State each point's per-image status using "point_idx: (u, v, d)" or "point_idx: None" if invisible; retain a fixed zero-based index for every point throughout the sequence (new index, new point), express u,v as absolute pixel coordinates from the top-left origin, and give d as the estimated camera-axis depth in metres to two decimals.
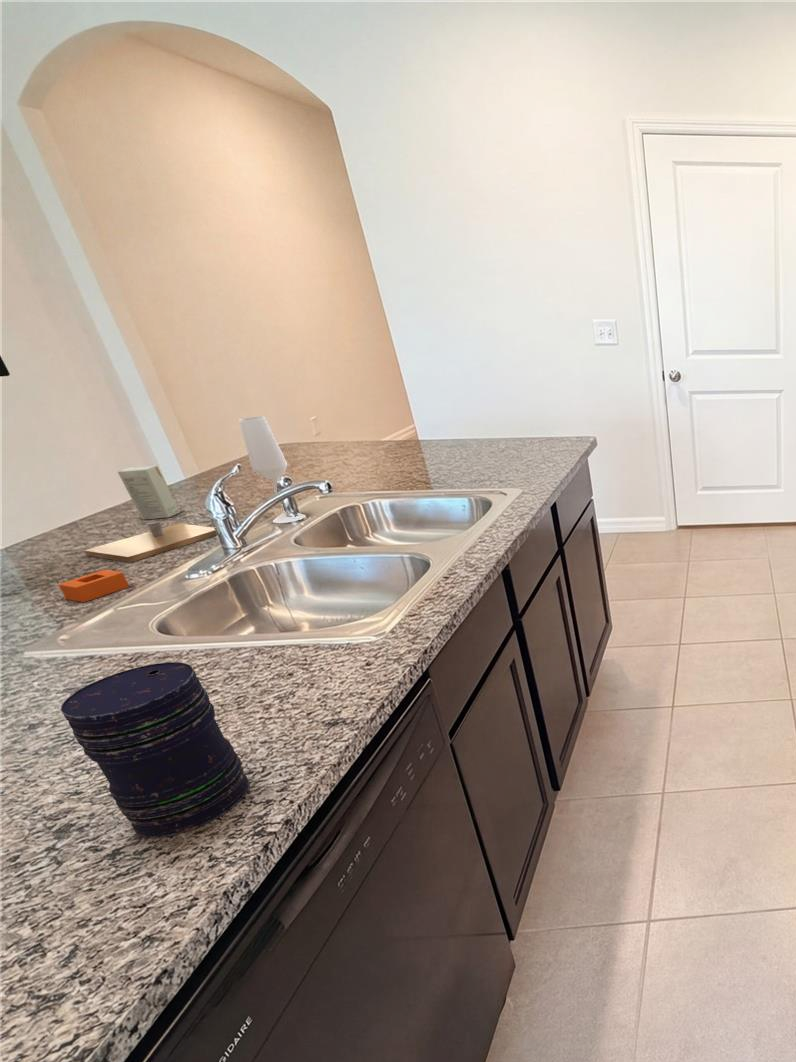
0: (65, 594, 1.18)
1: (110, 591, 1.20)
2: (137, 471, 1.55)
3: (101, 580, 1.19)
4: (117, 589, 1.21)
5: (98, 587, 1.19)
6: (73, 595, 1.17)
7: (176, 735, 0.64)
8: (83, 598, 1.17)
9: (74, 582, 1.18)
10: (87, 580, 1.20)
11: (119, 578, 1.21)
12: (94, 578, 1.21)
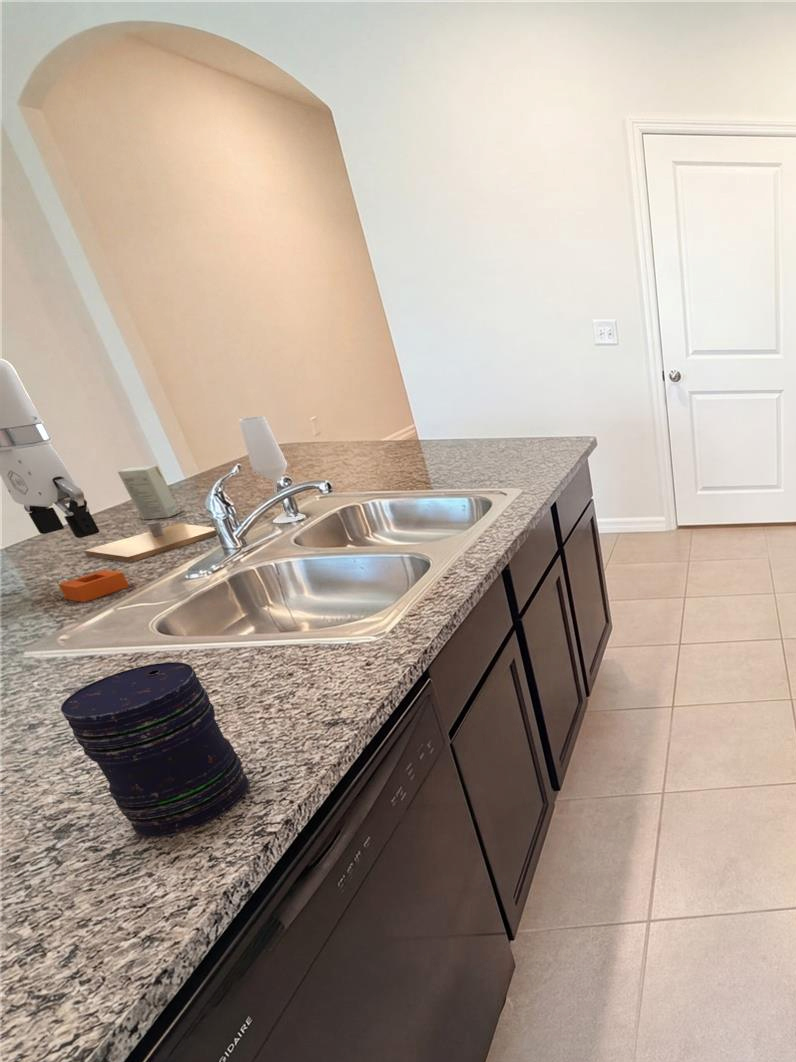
0: (65, 594, 1.18)
1: (110, 591, 1.20)
2: (137, 471, 1.55)
3: (101, 580, 1.19)
4: (117, 589, 1.21)
5: (98, 587, 1.19)
6: (73, 595, 1.17)
7: (176, 735, 0.64)
8: (83, 598, 1.17)
9: (74, 582, 1.18)
10: (87, 580, 1.20)
11: (119, 578, 1.21)
12: (94, 578, 1.21)
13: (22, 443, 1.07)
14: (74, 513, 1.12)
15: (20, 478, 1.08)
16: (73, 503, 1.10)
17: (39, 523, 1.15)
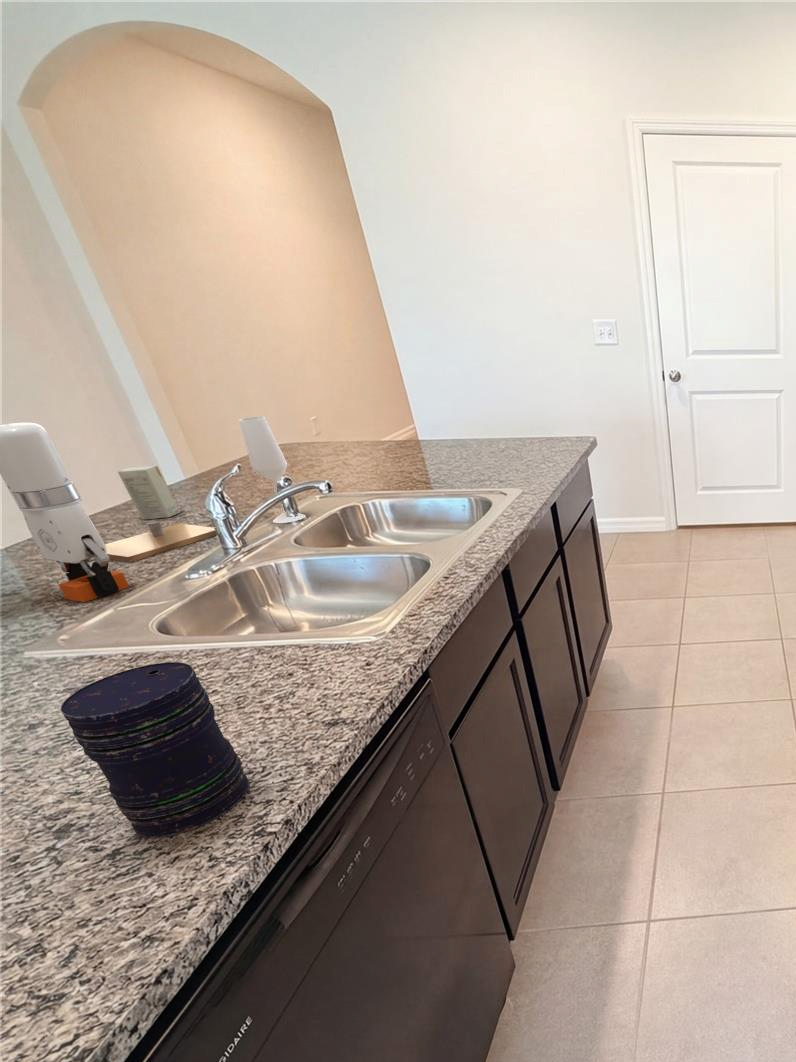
0: (65, 594, 1.18)
1: None
2: (137, 471, 1.55)
3: None
4: None
5: None
6: (73, 595, 1.17)
7: (176, 735, 0.64)
8: (83, 598, 1.17)
9: (74, 582, 1.18)
10: (87, 580, 1.20)
11: (119, 578, 1.21)
12: None
13: (53, 504, 1.11)
14: (96, 574, 1.17)
15: (50, 536, 1.13)
16: (96, 565, 1.16)
17: None
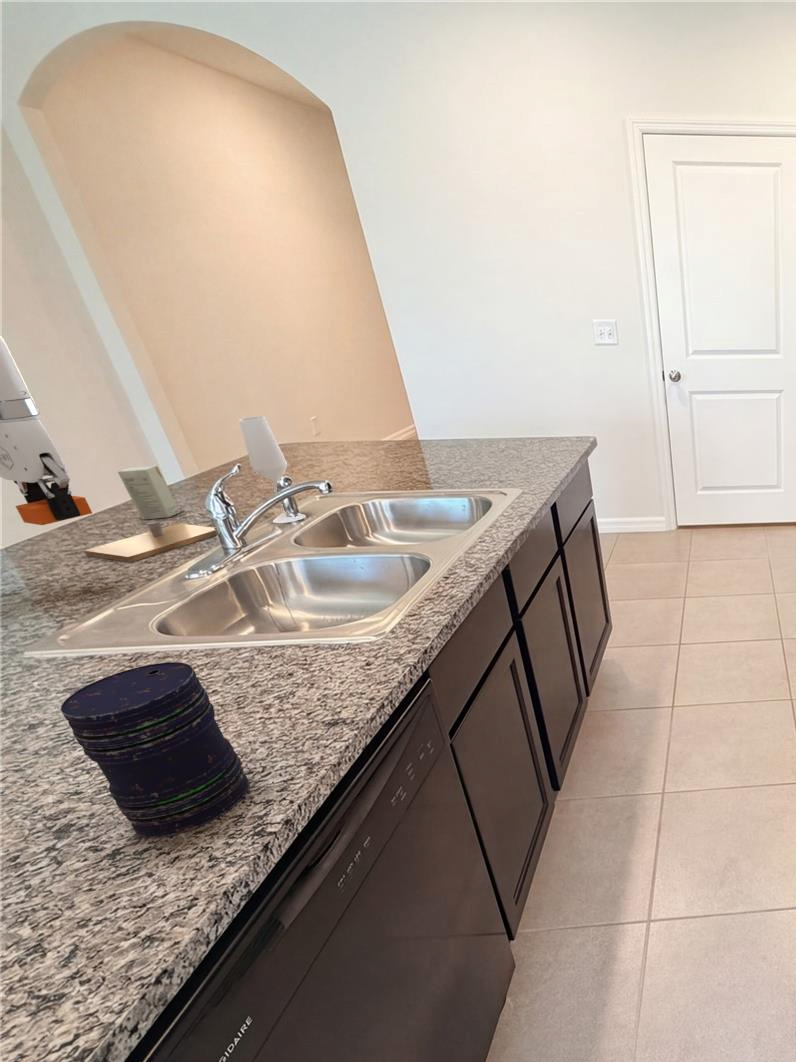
0: (23, 517, 1.12)
1: None
2: (137, 471, 1.55)
3: None
4: None
5: None
6: (31, 517, 1.11)
7: (176, 735, 0.64)
8: (41, 521, 1.11)
9: (32, 504, 1.12)
10: (47, 504, 1.14)
11: (81, 503, 1.16)
12: None
13: (10, 417, 1.05)
14: (55, 496, 1.11)
15: (6, 452, 1.07)
16: (54, 485, 1.10)
17: None
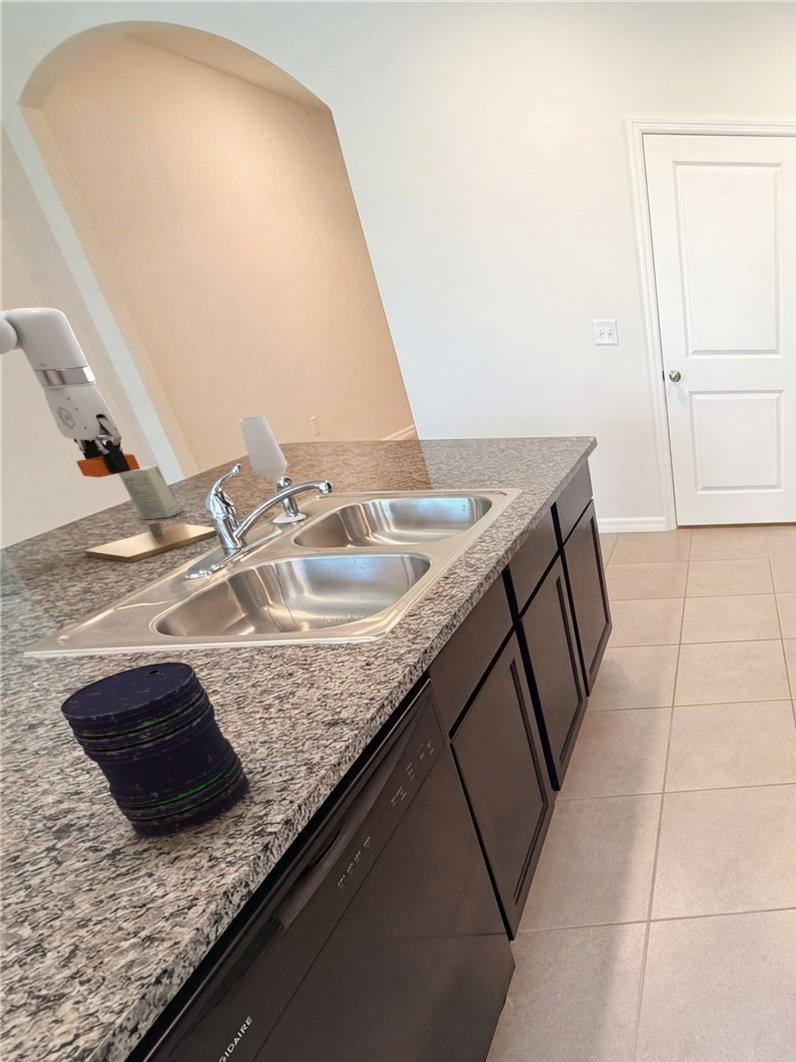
0: (82, 470, 1.30)
1: None
2: (137, 471, 1.55)
3: None
4: None
5: None
6: (89, 471, 1.29)
7: (176, 735, 0.64)
8: (98, 473, 1.29)
9: (90, 460, 1.30)
10: (102, 460, 1.32)
11: (131, 459, 1.34)
12: None
13: (71, 383, 1.23)
14: (110, 452, 1.29)
15: (68, 413, 1.25)
16: (109, 442, 1.28)
17: None
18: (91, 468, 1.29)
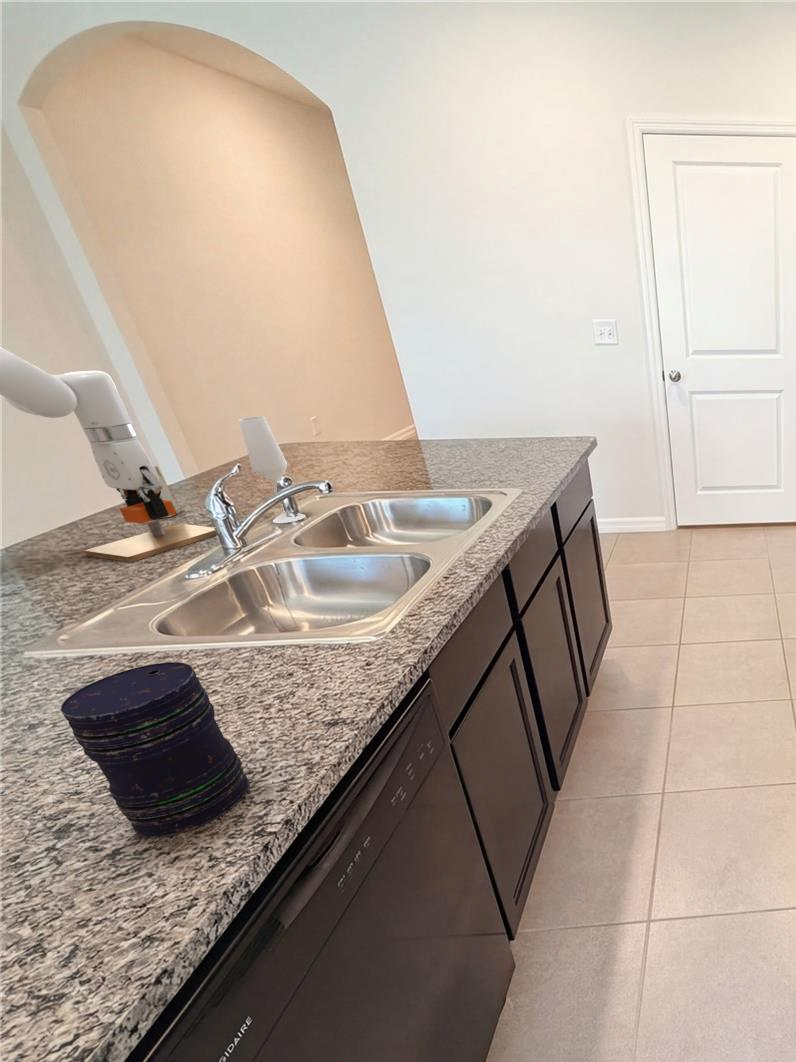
0: (125, 517, 1.41)
1: None
2: None
3: None
4: None
5: None
6: (132, 517, 1.40)
7: (176, 735, 0.64)
8: (140, 520, 1.40)
9: (132, 507, 1.41)
10: (142, 506, 1.43)
11: (169, 505, 1.45)
12: None
13: (117, 439, 1.34)
14: (151, 500, 1.40)
15: (114, 466, 1.36)
16: (151, 491, 1.39)
17: None
18: (134, 515, 1.40)
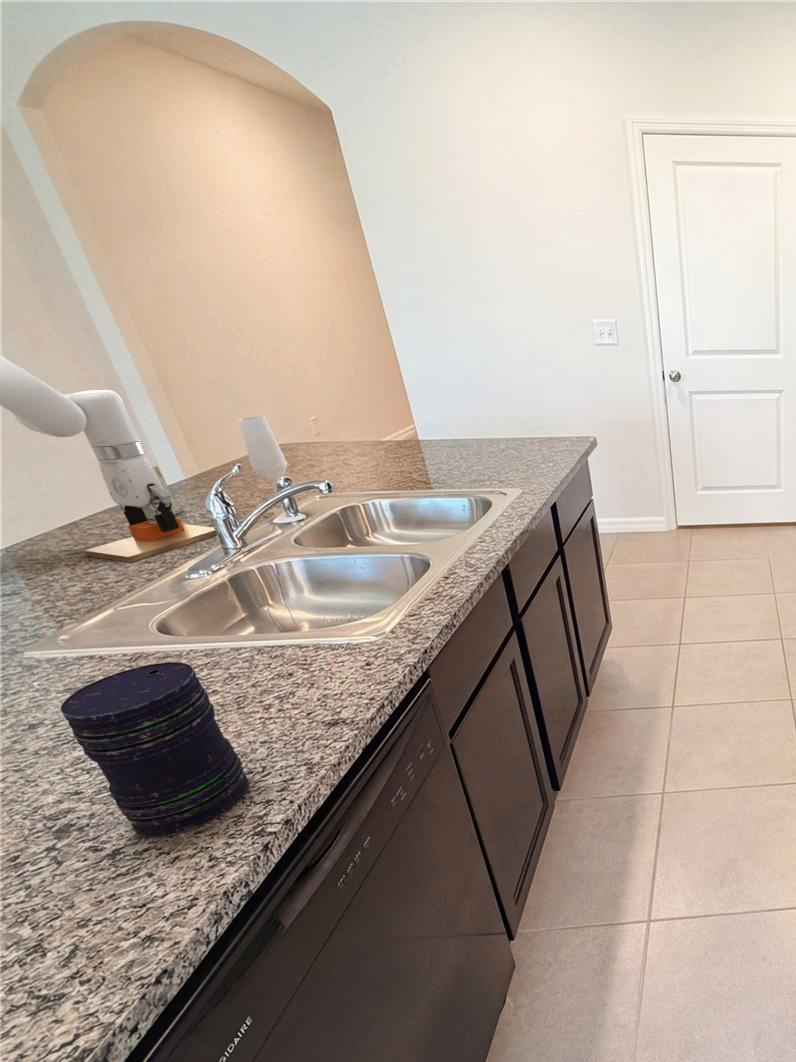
0: (133, 535, 1.43)
1: (169, 533, 1.45)
2: None
3: None
4: (175, 532, 1.46)
5: None
6: (140, 535, 1.42)
7: (176, 735, 0.64)
8: (149, 537, 1.42)
9: (141, 525, 1.43)
10: None
11: None
12: None
13: (125, 457, 1.36)
14: (162, 513, 1.41)
15: (122, 484, 1.37)
16: (162, 504, 1.39)
17: (131, 520, 1.44)
18: (142, 533, 1.42)
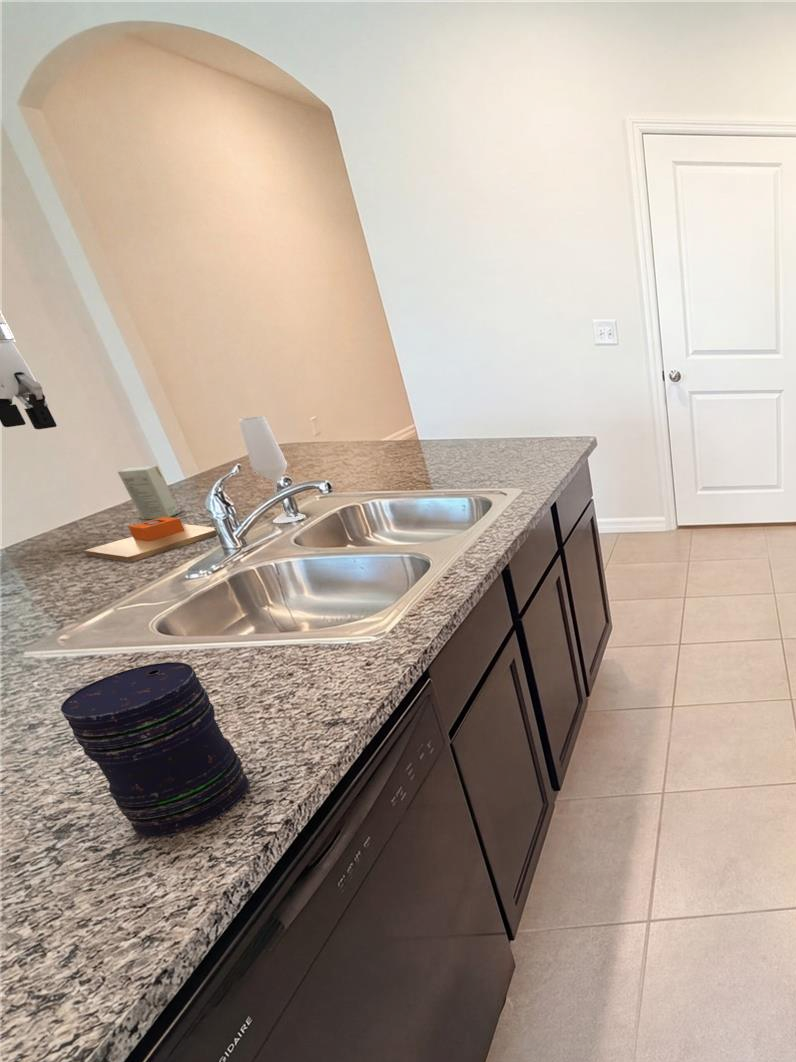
0: (133, 535, 1.43)
1: (169, 533, 1.45)
2: (137, 471, 1.55)
3: (162, 523, 1.44)
4: (175, 532, 1.46)
5: (160, 529, 1.44)
6: (140, 535, 1.42)
7: (176, 735, 0.64)
8: (149, 537, 1.42)
9: (141, 525, 1.43)
10: None
11: (177, 523, 1.46)
12: None
13: None
14: (33, 406, 1.26)
15: None
16: (32, 396, 1.25)
17: (2, 417, 1.29)
18: (142, 533, 1.42)
